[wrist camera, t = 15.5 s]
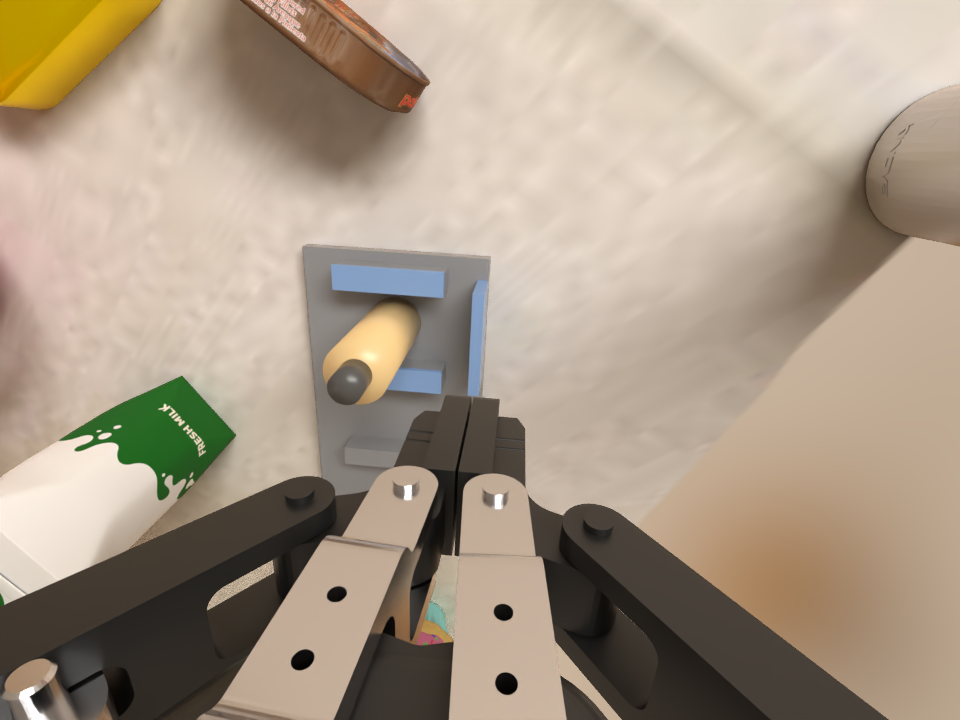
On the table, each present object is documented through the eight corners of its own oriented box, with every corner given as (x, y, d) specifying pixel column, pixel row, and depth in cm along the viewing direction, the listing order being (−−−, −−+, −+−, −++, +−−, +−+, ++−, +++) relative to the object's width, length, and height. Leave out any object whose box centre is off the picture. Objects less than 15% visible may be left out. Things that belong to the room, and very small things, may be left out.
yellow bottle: (421, 298, 37) (378, 358, 26) (421, 347, 39) (380, 423, 28) (369, 295, 38) (306, 352, 27) (371, 343, 39) (312, 417, 28)
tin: (442, 86, 33) (417, 65, 25) (415, 128, 34) (383, 119, 26) (246, -81, 30) (150, -164, 22) (224, -31, 31) (125, -93, 24)
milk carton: (116, 408, 45) (-168, 584, 26) (183, 361, 42) (-79, 518, 24) (185, 478, 47) (-32, 683, 29) (251, 437, 45) (61, 633, 26)
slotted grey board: (490, 256, 37) (485, 270, 32) (473, 530, 47) (468, 571, 42) (307, 243, 38) (277, 256, 33) (329, 516, 48) (309, 554, 43)
